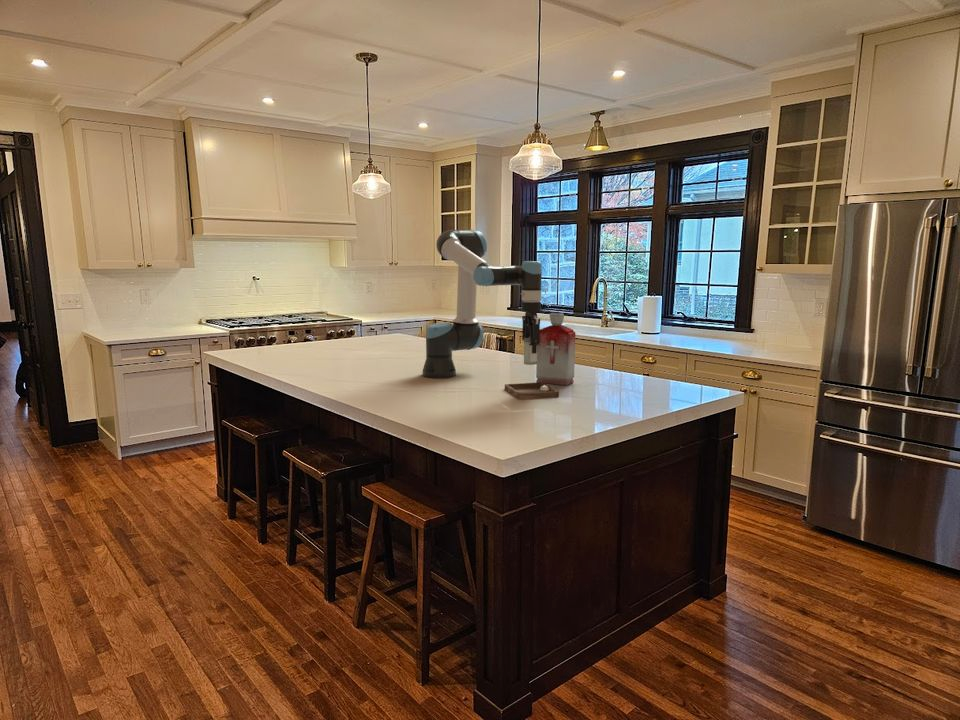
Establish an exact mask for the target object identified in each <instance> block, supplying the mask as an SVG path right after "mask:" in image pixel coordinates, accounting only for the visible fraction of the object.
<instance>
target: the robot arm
mask: <svg viewBox="0 0 960 720" xmlns="http://www.w3.org/2000/svg"><path fill="white" fill-rule="evenodd" d="M487 249H488V243H487V239H486V237H485V235H484V234H483V232H482V231H479V230H475V229H448V230H445V231H443V232H442V233H440V235H439V236H438V237H437V240H436V251H437V252H438V254H439V255H440V256H441V257H442V258H444V259H445V260H448V261H452V262H453V263H455V264H456V265H457V268H458V269H457V289H456V290H457V295H456V316H455V318H454V319H453V320H452V322H453V323H451V322H449V321H448V322H446V321H445V322H436V323H432V324H430V325H427V327H426V330H425V345H426V346H425V349H426V351H425V355H426V356H425V358H426V359H425V362H424V365H423V368H422V376H423V377H425V378H432V379H445V378H452V377H455V376H456V375H457V369H456V366H455V364H454V360H453V352H456V351H465V350H468V351H469V350H470V351H471V350H472V349H473V350H474V349H477V348H478V347H479V346H481V344H482V342H483V338H484V330H483V327H482V326H481V324H480V323H479V320H478V318H476V313H477V311H476V309H477V308H476V307H477V286H479V287H481V286H483V287H490V286H491V287H493V286H521V292H520V295H521V300H522V302H521V311H522V312H523V313H525V314H524V315H522V316H521V318H522V319H521V320H522V327H521V328H522V334H521V335H522V336H521V339H522V341H524V338H525V337H529V336H530V339H531V344H529V345H530V362H536V361H537V345H538V344H539V343H540V329H541V327H540V326H541V318H538V312H541V311H542V303H541V302H540V301H541V300H542V275H543V274H542V273H543V271H542V263H541V261H538V260H537V261H534V260H533V261H532V260H528V261H527V260H524V261H522V263H521V265H492V264H490V263H488V261H485V259H482V258H483V257H484V256H485V255H486V253H487Z"/></svg>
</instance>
